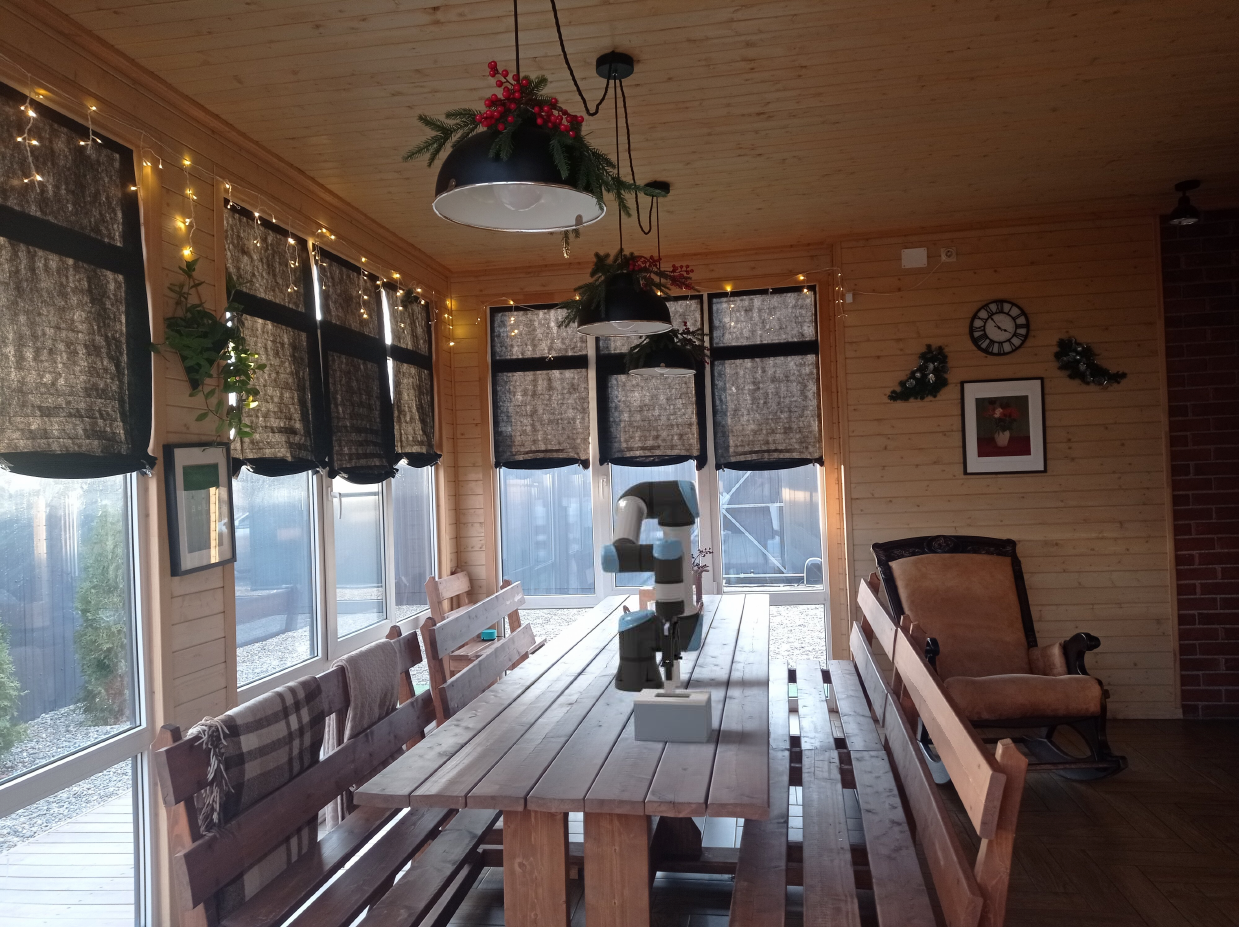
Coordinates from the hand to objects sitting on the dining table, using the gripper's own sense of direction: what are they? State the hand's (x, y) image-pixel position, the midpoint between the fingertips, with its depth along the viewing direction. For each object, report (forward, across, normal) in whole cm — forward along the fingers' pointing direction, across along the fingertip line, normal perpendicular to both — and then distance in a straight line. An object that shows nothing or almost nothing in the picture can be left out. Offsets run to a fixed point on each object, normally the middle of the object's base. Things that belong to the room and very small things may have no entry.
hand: (672, 689), depth 234 cm
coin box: (+12, 0, 0) cm, 12 cm away
